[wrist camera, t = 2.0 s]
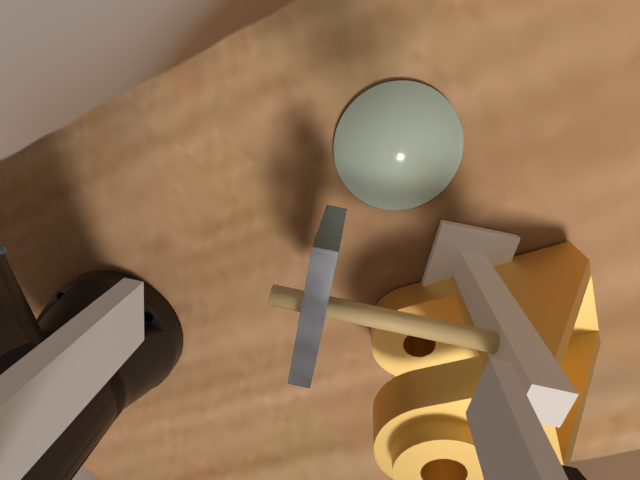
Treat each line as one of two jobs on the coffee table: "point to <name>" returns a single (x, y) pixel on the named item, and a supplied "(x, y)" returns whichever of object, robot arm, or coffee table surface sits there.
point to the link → (316, 295)
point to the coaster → (398, 145)
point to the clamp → (476, 365)
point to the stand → (484, 308)
